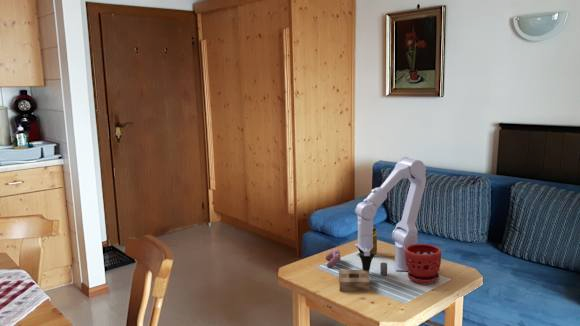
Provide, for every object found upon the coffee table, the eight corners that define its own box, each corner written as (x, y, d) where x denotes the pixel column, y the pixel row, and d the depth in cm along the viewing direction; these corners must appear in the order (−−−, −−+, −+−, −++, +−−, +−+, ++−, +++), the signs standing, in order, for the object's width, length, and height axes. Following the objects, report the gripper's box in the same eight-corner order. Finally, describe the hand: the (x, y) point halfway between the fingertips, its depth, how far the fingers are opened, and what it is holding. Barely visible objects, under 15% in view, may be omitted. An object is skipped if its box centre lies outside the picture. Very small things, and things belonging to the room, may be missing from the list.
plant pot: (447, 277, 183) (447, 247, 180) (429, 289, 174) (429, 257, 171) (416, 269, 192) (416, 240, 190) (398, 279, 183) (398, 249, 181)
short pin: (386, 273, 189) (386, 262, 188) (387, 276, 186) (387, 264, 186) (380, 273, 189) (380, 262, 188) (380, 276, 186) (380, 265, 186)
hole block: (367, 278, 185) (367, 269, 184) (370, 290, 174) (370, 281, 173) (338, 278, 186) (338, 269, 185) (339, 291, 175) (339, 281, 174)
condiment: (381, 253, 210) (380, 227, 208) (369, 259, 204) (369, 231, 202) (367, 249, 215) (366, 223, 213) (355, 255, 209) (355, 228, 207)
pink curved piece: (336, 271, 196) (343, 256, 195) (325, 267, 196) (333, 252, 195) (334, 262, 206) (341, 248, 205) (324, 258, 206) (331, 243, 205)
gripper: (353, 227, 193) (354, 260, 195) (356, 239, 178) (356, 274, 181) (371, 227, 192) (371, 260, 194) (375, 239, 178) (375, 274, 180)
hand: (365, 267), depth 188 cm, fingers open, 7 cm apart
